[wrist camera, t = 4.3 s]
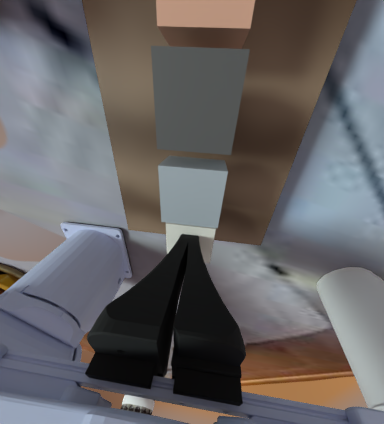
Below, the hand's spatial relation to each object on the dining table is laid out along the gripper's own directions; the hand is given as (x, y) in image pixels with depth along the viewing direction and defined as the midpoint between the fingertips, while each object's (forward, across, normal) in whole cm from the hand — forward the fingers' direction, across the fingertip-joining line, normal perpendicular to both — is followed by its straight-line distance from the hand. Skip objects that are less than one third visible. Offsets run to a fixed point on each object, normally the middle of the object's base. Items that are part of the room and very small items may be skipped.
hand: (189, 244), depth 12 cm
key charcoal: (+4, 0, -9) cm, 10 cm away
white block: (+5, 0, 0) cm, 5 cm away
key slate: (+4, 0, -4) cm, 6 cm away
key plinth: (+6, 0, -7) cm, 9 cm away
